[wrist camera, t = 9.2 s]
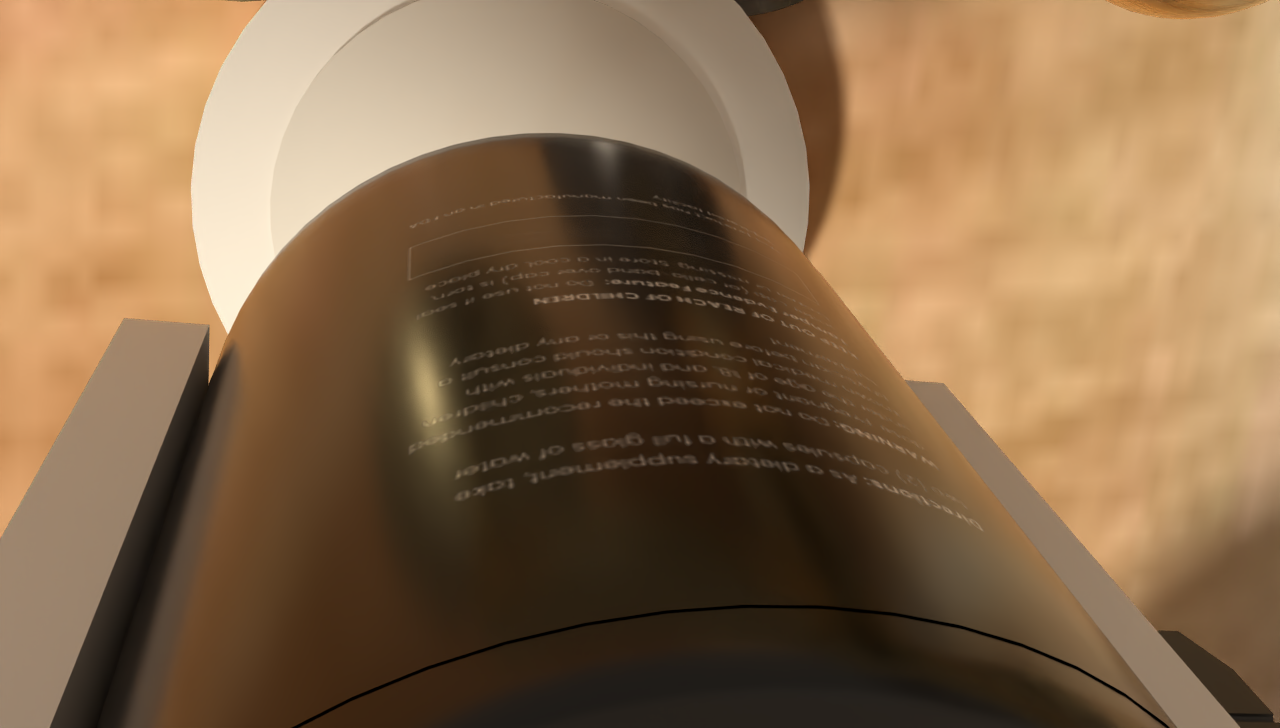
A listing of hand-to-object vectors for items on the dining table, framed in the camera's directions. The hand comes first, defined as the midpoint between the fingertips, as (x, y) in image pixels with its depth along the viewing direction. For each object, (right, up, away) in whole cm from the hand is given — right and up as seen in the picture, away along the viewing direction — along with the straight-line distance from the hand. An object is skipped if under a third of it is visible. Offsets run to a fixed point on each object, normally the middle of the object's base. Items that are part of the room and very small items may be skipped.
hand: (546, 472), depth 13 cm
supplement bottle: (0, +1, +1) cm, 1 cm away
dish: (-1, +4, +8) cm, 9 cm away
